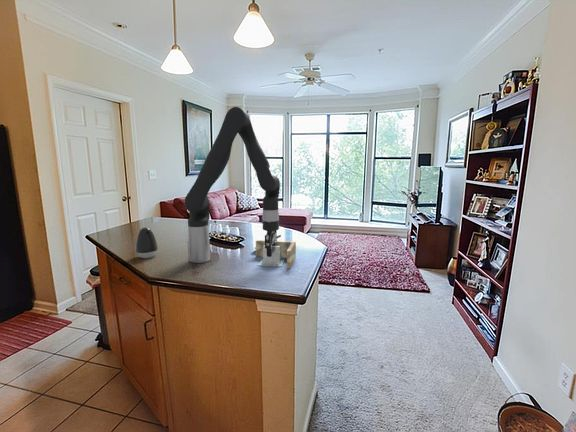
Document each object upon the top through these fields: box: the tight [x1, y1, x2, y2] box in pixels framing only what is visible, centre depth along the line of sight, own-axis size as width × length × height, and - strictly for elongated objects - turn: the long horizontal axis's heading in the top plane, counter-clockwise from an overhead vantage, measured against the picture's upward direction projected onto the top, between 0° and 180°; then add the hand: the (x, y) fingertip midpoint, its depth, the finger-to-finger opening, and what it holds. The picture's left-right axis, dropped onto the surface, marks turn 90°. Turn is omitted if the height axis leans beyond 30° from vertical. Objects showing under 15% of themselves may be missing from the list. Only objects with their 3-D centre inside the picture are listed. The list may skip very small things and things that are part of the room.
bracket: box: [260, 245, 282, 267], centre depth 133 cm, size 8×5×8 cm, turn 80°
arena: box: [255, 239, 297, 269], centre depth 137 cm, size 20×17×8 cm
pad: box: [257, 258, 285, 268], centre depth 136 cm, size 11×9×1 cm
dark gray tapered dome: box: [134, 226, 159, 259], centre depth 145 cm, size 10×10×15 cm
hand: (271, 253), depth 135 cm, fingers open, 7 cm apart
